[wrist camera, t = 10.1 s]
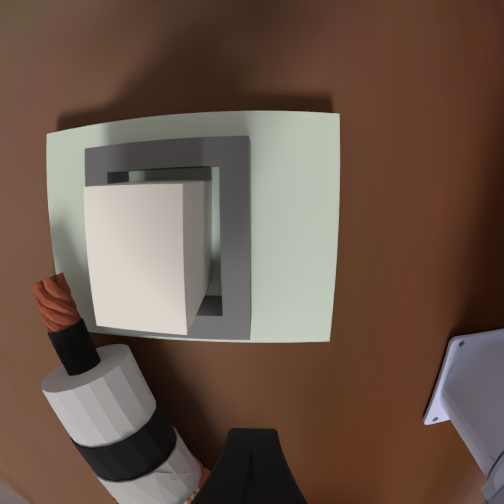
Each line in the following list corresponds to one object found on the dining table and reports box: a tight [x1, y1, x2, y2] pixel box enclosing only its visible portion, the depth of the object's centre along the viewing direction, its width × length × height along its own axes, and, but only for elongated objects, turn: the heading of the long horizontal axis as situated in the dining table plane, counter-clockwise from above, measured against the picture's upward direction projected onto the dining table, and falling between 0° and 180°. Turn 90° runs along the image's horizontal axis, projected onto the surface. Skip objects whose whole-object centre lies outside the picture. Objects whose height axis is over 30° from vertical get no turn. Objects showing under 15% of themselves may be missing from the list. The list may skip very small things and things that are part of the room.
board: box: [47, 111, 340, 342], centre depth 15 cm, size 16×12×4 cm
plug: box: [84, 180, 212, 335], centre depth 13 cm, size 4×5×6 cm
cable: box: [31, 272, 210, 504], centre depth 17 cm, size 10×34×10 cm, turn 16°
